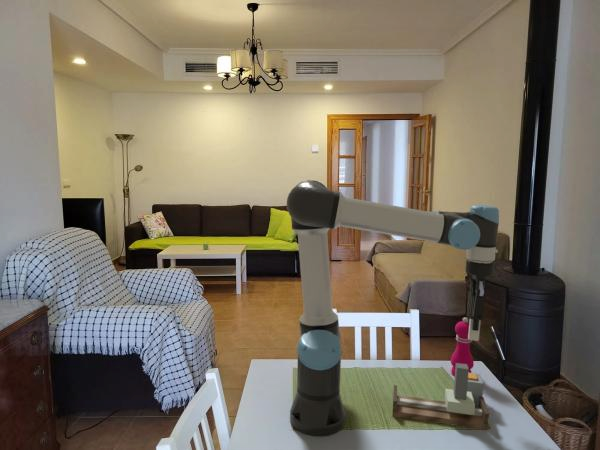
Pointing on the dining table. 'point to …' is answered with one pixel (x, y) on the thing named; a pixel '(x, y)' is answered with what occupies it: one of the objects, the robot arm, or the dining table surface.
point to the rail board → (438, 411)
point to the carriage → (460, 393)
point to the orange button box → (476, 388)
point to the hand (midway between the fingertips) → (473, 339)
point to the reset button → (472, 377)
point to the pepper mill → (462, 346)
